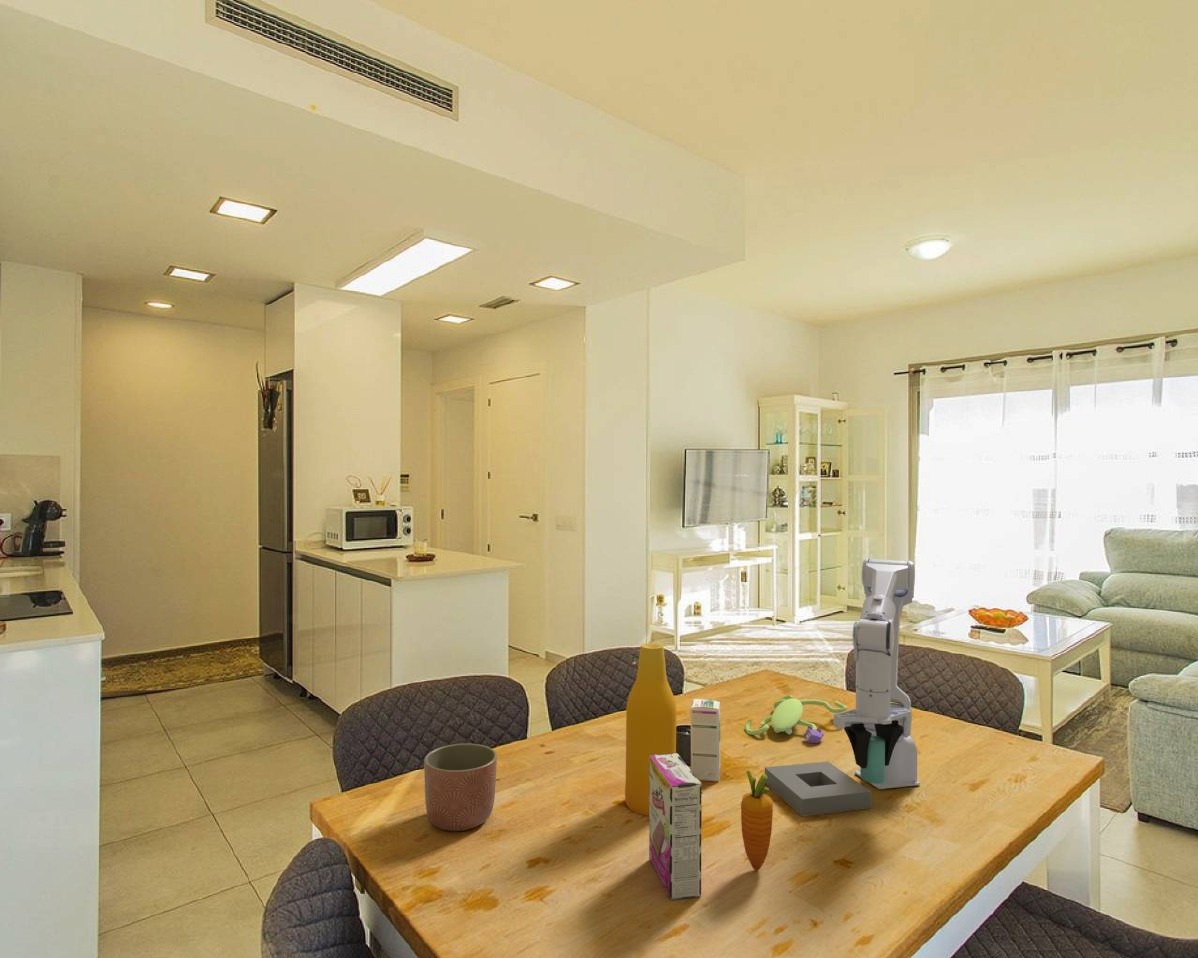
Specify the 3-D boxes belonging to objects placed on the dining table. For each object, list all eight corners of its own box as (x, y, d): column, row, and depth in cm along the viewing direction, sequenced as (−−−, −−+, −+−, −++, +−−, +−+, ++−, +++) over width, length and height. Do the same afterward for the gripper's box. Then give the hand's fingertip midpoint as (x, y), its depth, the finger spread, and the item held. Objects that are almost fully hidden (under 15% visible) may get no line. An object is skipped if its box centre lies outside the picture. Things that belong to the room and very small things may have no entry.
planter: (433, 844, 111) (434, 776, 111) (415, 811, 122) (416, 749, 122) (506, 827, 117) (507, 763, 117) (483, 797, 128) (484, 738, 128)
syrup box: (719, 782, 136) (720, 708, 136) (689, 779, 137) (690, 706, 137) (720, 770, 141) (721, 699, 141) (691, 767, 142) (692, 697, 143)
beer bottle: (618, 811, 123) (620, 648, 123) (633, 790, 132) (635, 638, 132) (668, 820, 120) (670, 653, 120) (680, 798, 128) (682, 642, 129)
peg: (874, 772, 124) (875, 733, 124) (889, 782, 120) (890, 742, 120) (855, 775, 123) (856, 735, 123) (869, 784, 119) (870, 744, 119)
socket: (827, 776, 139) (827, 761, 139) (871, 807, 125) (871, 791, 125) (764, 782, 136) (764, 767, 136) (802, 816, 122) (802, 799, 122)
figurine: (853, 721, 173) (853, 699, 173) (814, 753, 152) (814, 728, 152) (783, 706, 184) (783, 685, 184) (738, 734, 163) (738, 710, 163)
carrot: (735, 862, 107) (736, 765, 107) (766, 861, 107) (767, 764, 107) (745, 880, 102) (746, 778, 102) (777, 879, 102) (778, 778, 102)
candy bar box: (646, 859, 107) (647, 754, 107) (677, 856, 108) (678, 751, 108) (668, 902, 96) (670, 784, 96) (702, 898, 97) (703, 781, 98)
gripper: (850, 697, 116) (850, 778, 116) (923, 691, 120) (923, 769, 120) (826, 685, 123) (826, 761, 123) (896, 680, 127) (895, 754, 127)
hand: (872, 764), depth 122 cm, fingers closed on peg, 4 cm apart
